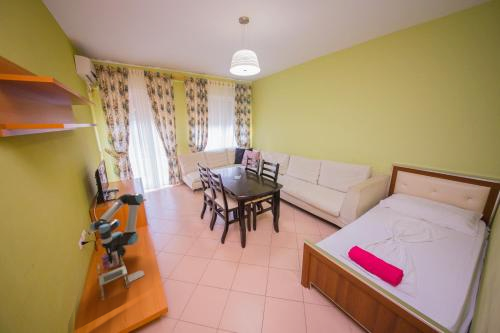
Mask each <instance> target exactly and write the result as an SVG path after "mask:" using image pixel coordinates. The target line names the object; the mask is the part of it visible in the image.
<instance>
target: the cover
mask: <svg viewBox="0 0 500 333" xmlns="http://www.w3.org/2000/svg"><path fill="white" fill-rule="evenodd" d="M117 268H118V269H116V268H114V269H115V270H114V269H112V270H113V271H112V270H110V271H111V272H109V271H108V273H107V272H105V273H106V274H104V273H102V274H103V275H102V274H101V276H99V275H98V282H99V287H100V286H101V285H103V286H104V285H105V284H108V283H109V282H112V281H115V280H116V279H118V278H121V277H124V275H125V274H128V271H127V268H126V265H125V266H123V267H121V266H120V268H119V267H117Z"/></svg>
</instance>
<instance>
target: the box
mask: <svg viewBox="0 0 500 333" xmlns="http://www.w3.org/2000/svg"><path fill="white" fill-rule="evenodd" d="M111 254H112V259H113V264H114V266H111V267H110V265H109V261H108V260H109V259H108V254H107V253H104V254H102V256H101V264H102V269H103V270H104V271H105V270H107V269H110V268H115V267H118V266H119V263H120V258H119V257H118V254H117V251H115V252H112V253H111Z"/></svg>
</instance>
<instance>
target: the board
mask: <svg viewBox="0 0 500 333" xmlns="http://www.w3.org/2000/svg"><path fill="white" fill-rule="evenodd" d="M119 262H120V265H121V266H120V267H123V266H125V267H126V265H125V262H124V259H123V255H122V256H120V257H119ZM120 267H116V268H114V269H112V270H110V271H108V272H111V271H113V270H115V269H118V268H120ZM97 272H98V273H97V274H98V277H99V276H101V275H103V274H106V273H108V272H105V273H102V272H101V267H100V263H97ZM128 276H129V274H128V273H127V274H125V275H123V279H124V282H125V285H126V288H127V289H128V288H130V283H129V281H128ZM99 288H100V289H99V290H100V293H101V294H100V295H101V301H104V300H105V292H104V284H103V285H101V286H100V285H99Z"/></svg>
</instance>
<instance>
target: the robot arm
mask: <svg viewBox="0 0 500 333" xmlns="http://www.w3.org/2000/svg"><path fill="white" fill-rule="evenodd" d="M143 202H144V196H143V194H142V193H137V192H136V193H125V194H122V195H120V196H119V197H118V198H116V199H115V200H114V202H113V204H112V205H111V206H110V207H109V208H108V209H107V210H106V211H105V212H104V213H103V215H101V216H100V217H99V219H98V220H97V221H93V222H91V223H90V225H89V229H90V230H91V231H98V233H99V237H100V240H99V241H100V242H101V246H102V248H104V250H105V252H106V254H108V259H109V260H108V261H109V265H110V267H111V266H114V264H113V259H112V254H111V253H112V252H115V251H117V254H118V258H120V256H122V257H123V256H124V255H125V254H126V252H127V249H126V247H125V246H133V245H135V244H136V243H137V242H138V239H139V234H138V233H137V230H136V228H137V227H136V226H137V220H138V219H137V218H138V214H139V208H140V206H141V204H143ZM125 205H127V206H128V212H127V219H126V226H125V230H124V231H123V232H122V231H115V232H113V231H114V230H116V229H117V228H119V226H120V225H121V222H120V220H119V219H117V218H115V219H112V218H113V217H114V216H115V214H117V213H118V211H119V210H120V209H121V208H123V206H125ZM111 219H112V220H111ZM110 220H111V221H110Z"/></svg>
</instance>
